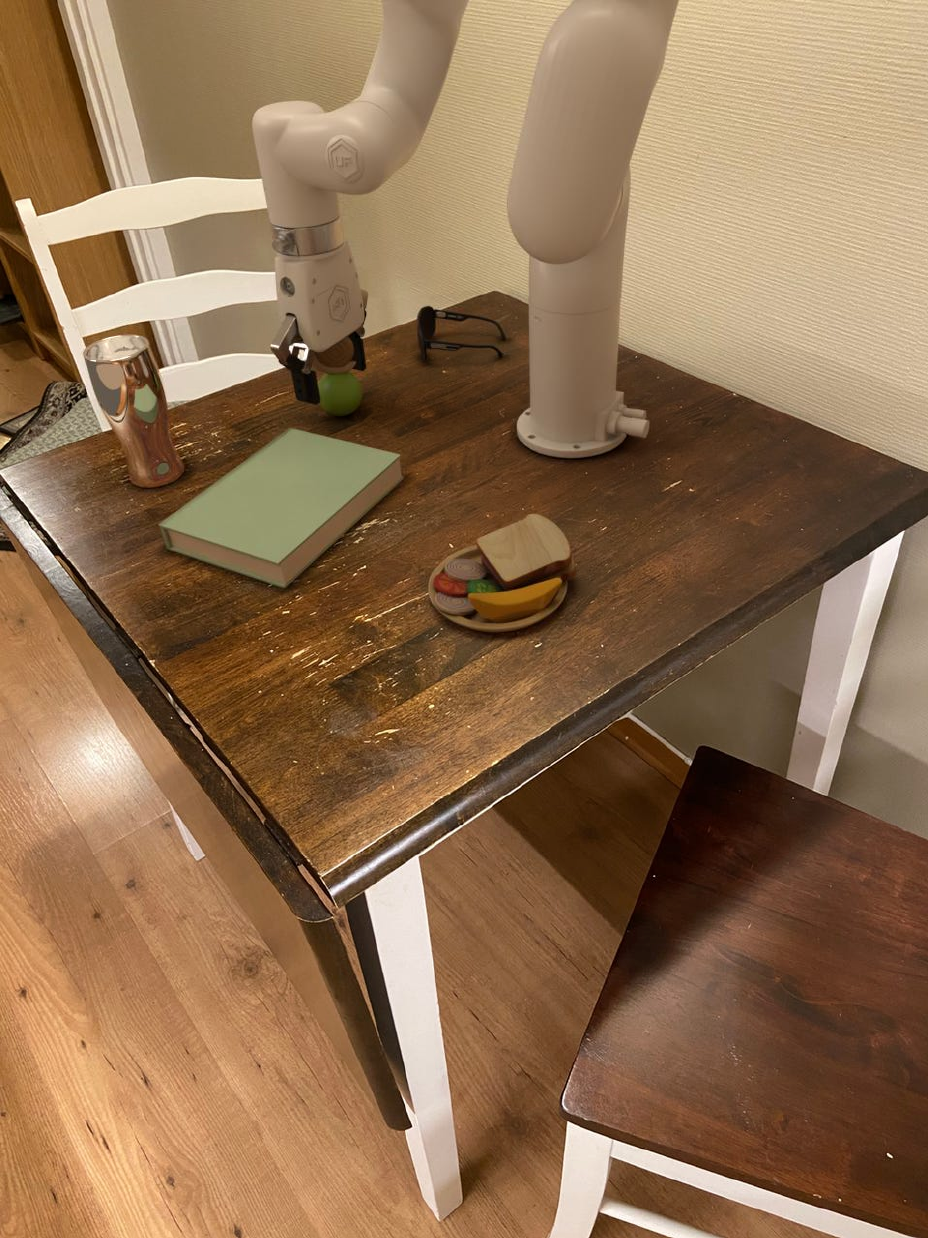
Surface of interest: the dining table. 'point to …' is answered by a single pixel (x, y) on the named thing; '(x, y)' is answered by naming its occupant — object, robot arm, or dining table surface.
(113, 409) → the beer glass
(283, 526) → the book
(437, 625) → the dining table surface
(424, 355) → the sunglasses
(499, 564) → the toy sandwich meal
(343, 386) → the snail figurine
